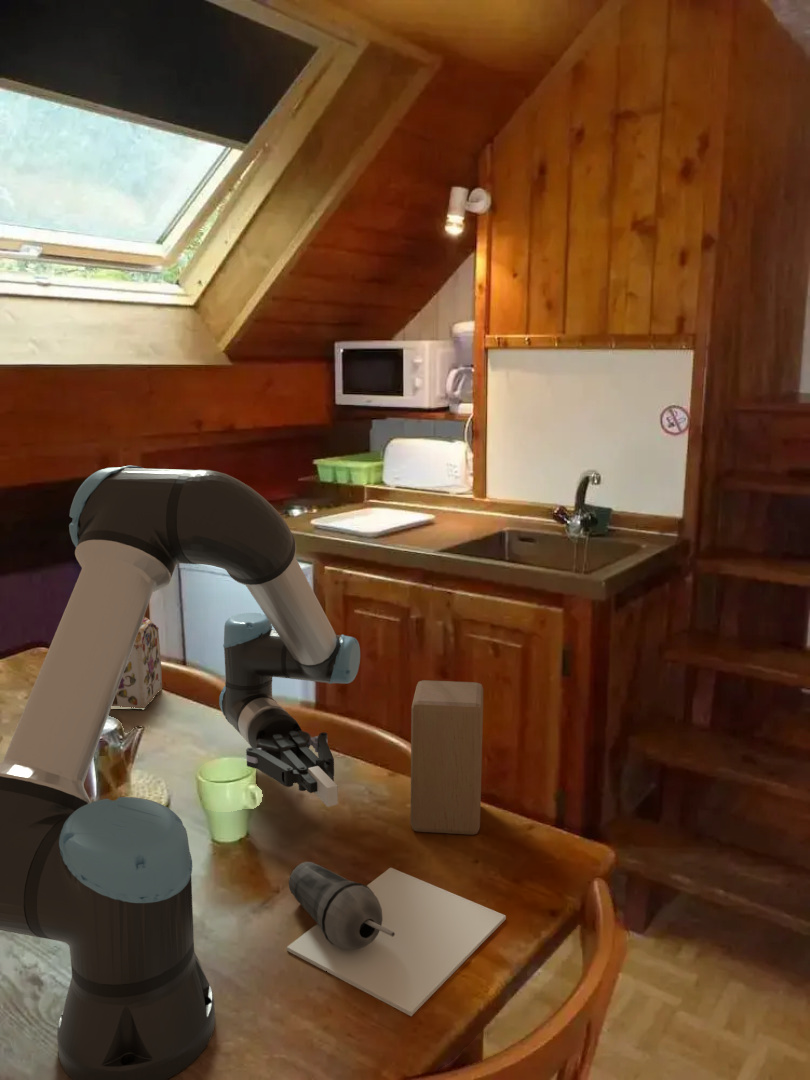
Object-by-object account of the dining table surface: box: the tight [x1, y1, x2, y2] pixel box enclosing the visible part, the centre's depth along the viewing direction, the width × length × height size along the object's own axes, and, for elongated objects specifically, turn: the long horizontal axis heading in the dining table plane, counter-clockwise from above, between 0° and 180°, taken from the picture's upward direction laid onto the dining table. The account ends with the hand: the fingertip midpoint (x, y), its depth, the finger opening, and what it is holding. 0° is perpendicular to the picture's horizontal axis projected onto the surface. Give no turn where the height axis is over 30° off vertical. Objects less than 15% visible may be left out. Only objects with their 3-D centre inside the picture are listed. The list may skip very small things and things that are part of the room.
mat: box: [286, 867, 507, 1017], centre depth 104 cm, size 20×18×1 cm
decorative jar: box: [112, 616, 163, 709], centre depth 173 cm, size 12×12×18 cm
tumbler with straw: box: [288, 861, 395, 950], centre depth 102 cm, size 7×7×20 cm
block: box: [410, 679, 484, 836], centre depth 129 cm, size 10×10×20 cm
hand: (332, 796), depth 115 cm, fingers closed
